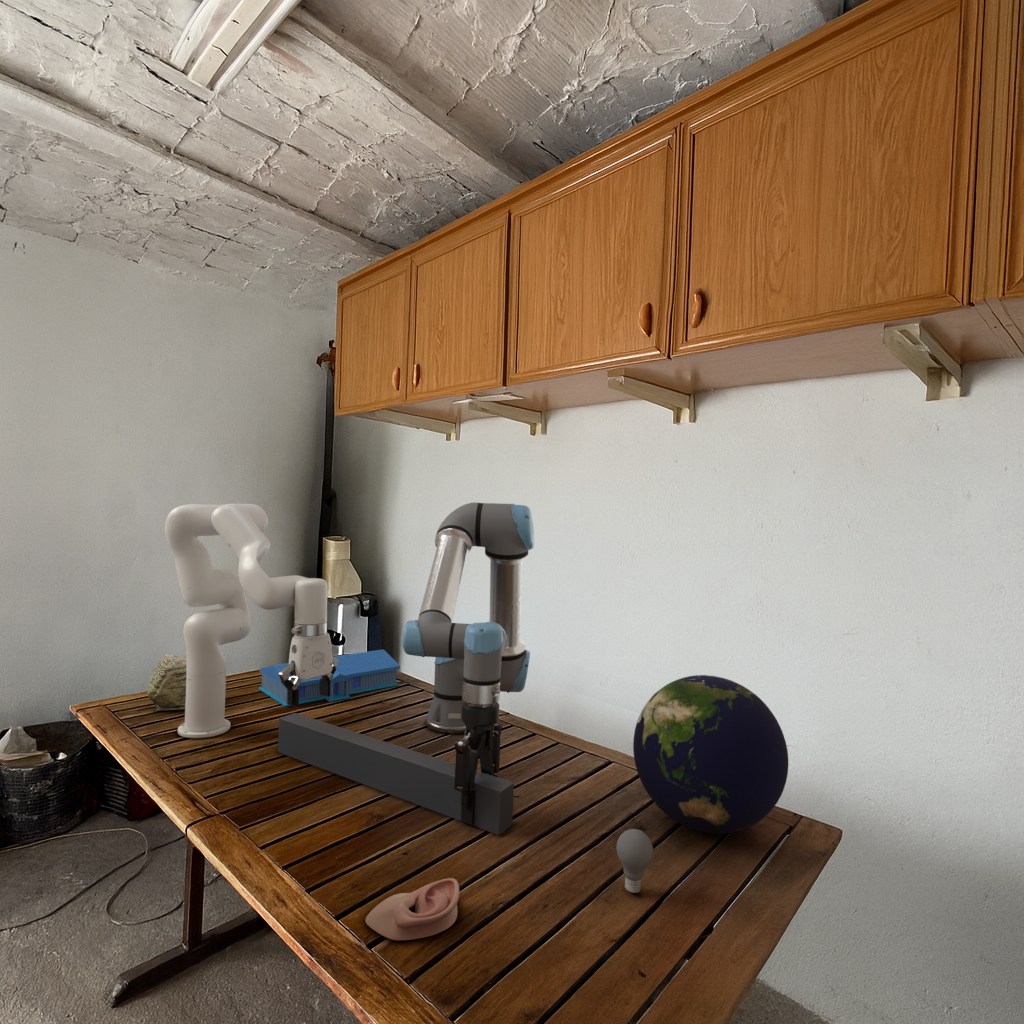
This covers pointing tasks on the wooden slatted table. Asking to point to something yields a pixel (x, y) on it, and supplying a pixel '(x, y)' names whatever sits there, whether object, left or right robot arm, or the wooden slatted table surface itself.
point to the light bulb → (634, 857)
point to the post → (395, 770)
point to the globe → (710, 754)
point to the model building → (337, 678)
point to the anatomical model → (417, 911)
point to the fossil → (169, 683)
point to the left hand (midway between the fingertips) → (309, 700)
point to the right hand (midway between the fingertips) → (475, 816)
